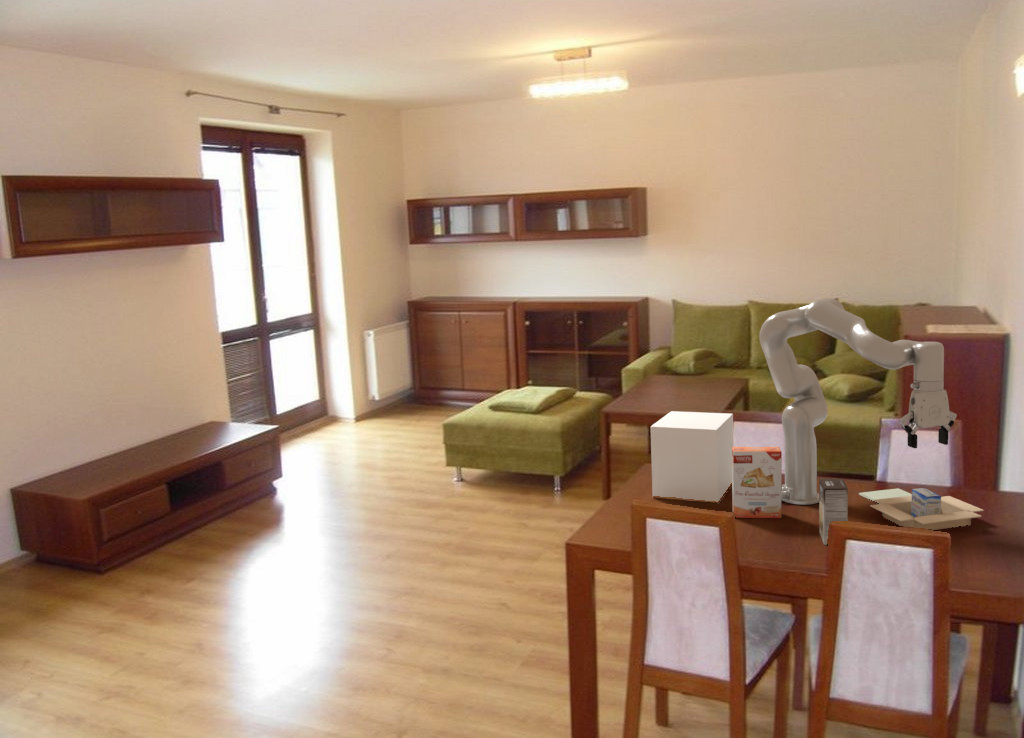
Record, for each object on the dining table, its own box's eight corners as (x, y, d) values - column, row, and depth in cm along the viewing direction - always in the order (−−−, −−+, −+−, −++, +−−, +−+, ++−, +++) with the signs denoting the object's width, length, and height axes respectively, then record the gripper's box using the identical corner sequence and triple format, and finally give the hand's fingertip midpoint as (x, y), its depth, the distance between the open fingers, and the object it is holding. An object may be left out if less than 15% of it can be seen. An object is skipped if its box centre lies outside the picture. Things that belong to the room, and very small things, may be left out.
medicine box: (910, 517, 244) (911, 488, 243) (925, 516, 245) (925, 487, 244) (925, 526, 237) (926, 496, 235) (941, 525, 237) (941, 495, 236)
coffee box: (818, 533, 235) (818, 478, 233) (842, 534, 234) (842, 478, 232) (823, 545, 227) (823, 487, 224) (848, 545, 225) (849, 488, 223)
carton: (909, 538, 228) (909, 524, 227) (861, 514, 249) (861, 501, 249) (993, 528, 232) (994, 514, 232) (939, 504, 254) (940, 492, 253)
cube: (673, 478, 298) (671, 411, 294) (734, 483, 288) (732, 413, 285) (652, 499, 276) (650, 426, 272) (717, 505, 266) (716, 429, 263)
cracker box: (733, 518, 251) (732, 450, 248) (732, 512, 257) (731, 446, 254) (782, 519, 249) (781, 450, 246) (779, 512, 255) (779, 445, 251)
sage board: (885, 507, 254) (886, 505, 254) (858, 494, 267) (858, 492, 267) (927, 502, 256) (927, 500, 256) (898, 490, 270) (898, 488, 270)
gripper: (909, 390, 230) (908, 451, 232) (965, 385, 233) (964, 445, 235) (892, 386, 237) (892, 445, 239) (946, 381, 240) (946, 439, 242)
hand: (927, 445), depth 237 cm, fingers open, 9 cm apart
